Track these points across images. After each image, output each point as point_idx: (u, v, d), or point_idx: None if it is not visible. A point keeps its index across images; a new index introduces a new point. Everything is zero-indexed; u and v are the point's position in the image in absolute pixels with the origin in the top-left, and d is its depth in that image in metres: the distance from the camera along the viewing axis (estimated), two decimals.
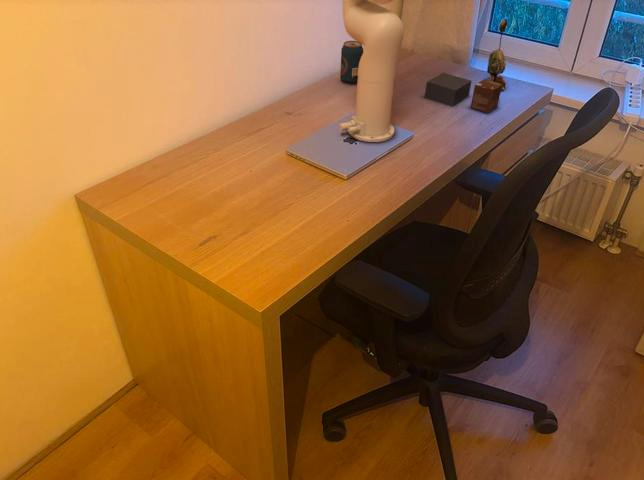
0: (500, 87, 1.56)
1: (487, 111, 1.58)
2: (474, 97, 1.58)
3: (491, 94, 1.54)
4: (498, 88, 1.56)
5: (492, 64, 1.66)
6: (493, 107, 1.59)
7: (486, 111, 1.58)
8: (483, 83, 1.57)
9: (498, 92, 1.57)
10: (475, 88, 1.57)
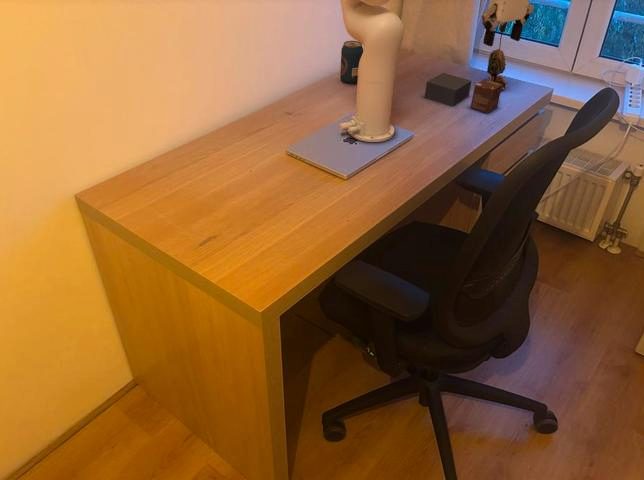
0: (500, 87, 1.56)
1: (487, 111, 1.58)
2: (474, 97, 1.58)
3: (491, 94, 1.54)
4: (498, 88, 1.56)
5: (492, 64, 1.66)
6: (493, 107, 1.59)
7: (486, 111, 1.58)
8: (483, 83, 1.57)
9: (498, 92, 1.57)
10: (475, 88, 1.57)
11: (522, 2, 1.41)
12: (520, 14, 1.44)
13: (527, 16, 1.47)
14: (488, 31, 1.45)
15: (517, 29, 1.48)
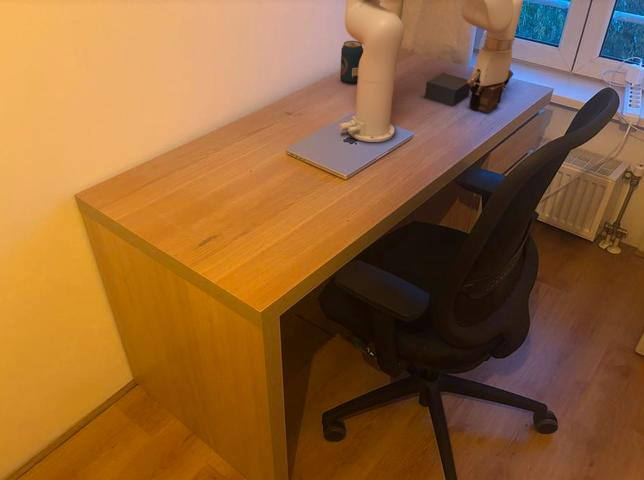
0: (500, 87, 1.56)
1: (487, 111, 1.58)
2: None
3: (491, 94, 1.54)
4: (498, 88, 1.56)
5: None
6: (493, 107, 1.59)
7: (486, 111, 1.58)
8: None
9: (498, 92, 1.57)
10: None
11: (504, 68, 1.52)
12: (502, 78, 1.54)
13: (506, 81, 1.58)
14: (474, 95, 1.56)
15: None
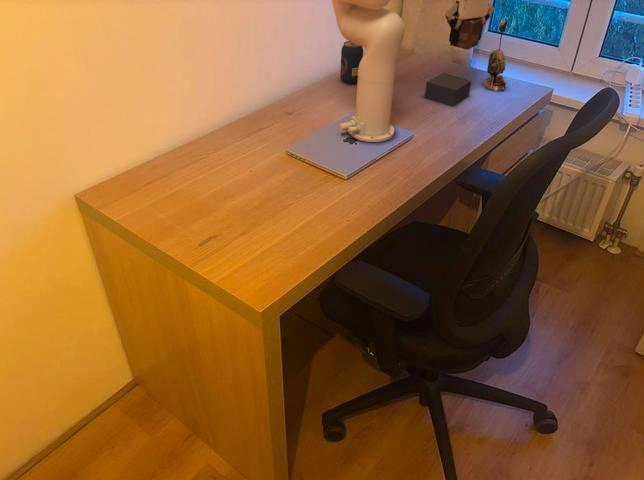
0: (480, 22, 1.50)
1: (467, 47, 1.52)
2: None
3: (470, 28, 1.48)
4: (478, 22, 1.50)
5: (492, 64, 1.66)
6: (473, 44, 1.53)
7: (466, 47, 1.52)
8: None
9: (478, 27, 1.51)
10: None
11: (483, 0, 1.46)
12: (482, 12, 1.49)
13: (487, 16, 1.52)
14: (453, 29, 1.50)
15: None
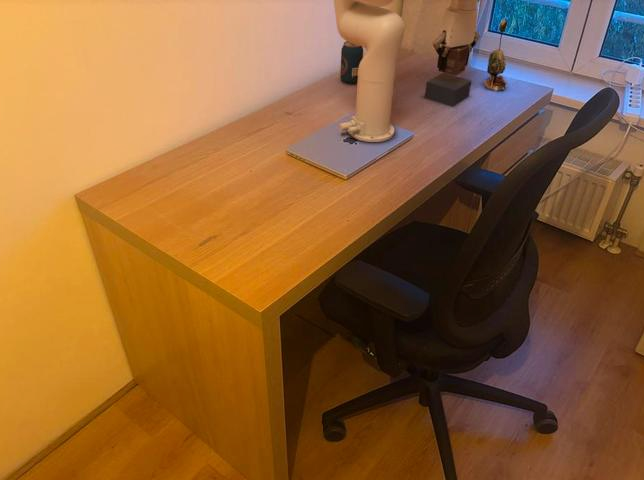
0: (467, 49, 1.57)
1: (454, 73, 1.58)
2: None
3: (457, 56, 1.55)
4: (464, 50, 1.56)
5: (492, 64, 1.66)
6: (460, 70, 1.60)
7: (453, 73, 1.59)
8: None
9: (465, 54, 1.57)
10: None
11: (469, 29, 1.53)
12: (468, 40, 1.55)
13: (473, 43, 1.58)
14: (440, 57, 1.57)
15: None
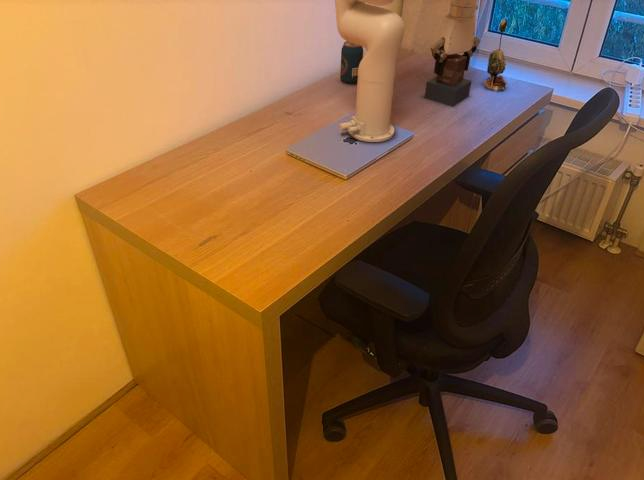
0: (465, 59, 1.59)
1: (452, 83, 1.60)
2: None
3: (455, 66, 1.57)
4: (462, 60, 1.58)
5: (492, 64, 1.66)
6: (458, 80, 1.62)
7: (451, 83, 1.60)
8: (448, 55, 1.60)
9: (463, 64, 1.59)
10: None
11: (468, 36, 1.54)
12: (467, 47, 1.56)
13: (474, 48, 1.60)
14: (437, 62, 1.57)
15: None
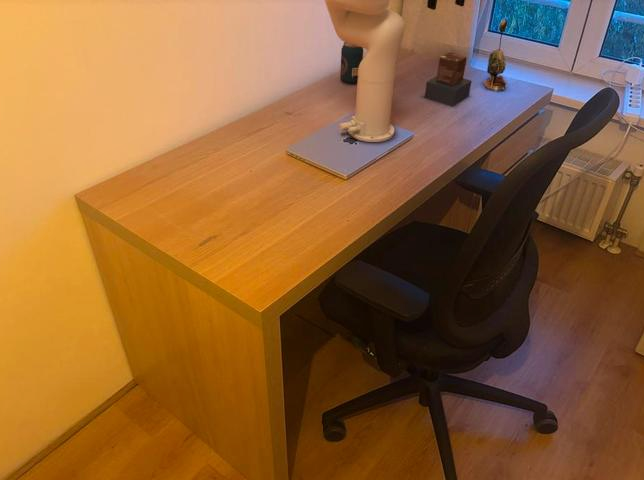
0: (465, 59, 1.59)
1: (452, 83, 1.60)
2: (439, 70, 1.61)
3: (455, 66, 1.57)
4: (462, 60, 1.58)
5: (492, 64, 1.66)
6: (458, 80, 1.62)
7: (451, 83, 1.60)
8: (448, 55, 1.60)
9: (463, 64, 1.59)
10: (440, 60, 1.59)
11: None
12: None
13: None
14: None
15: None
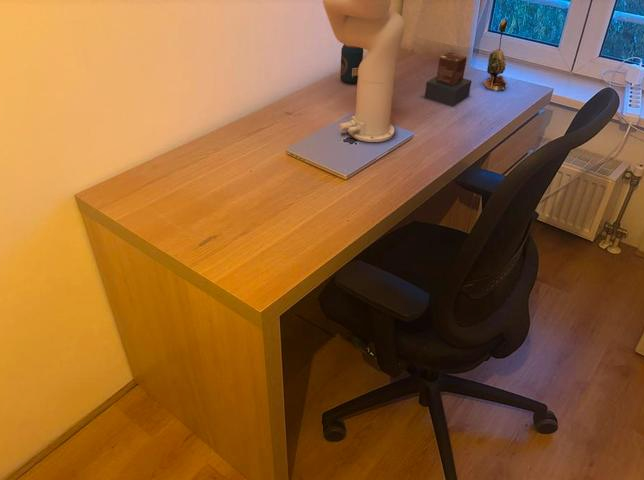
0: (465, 59, 1.59)
1: (452, 83, 1.60)
2: (439, 70, 1.61)
3: (455, 66, 1.57)
4: (462, 60, 1.58)
5: (492, 64, 1.66)
6: (458, 80, 1.62)
7: (451, 83, 1.60)
8: (448, 55, 1.60)
9: (463, 64, 1.59)
10: (440, 60, 1.59)
11: None
12: None
13: None
14: None
15: None
